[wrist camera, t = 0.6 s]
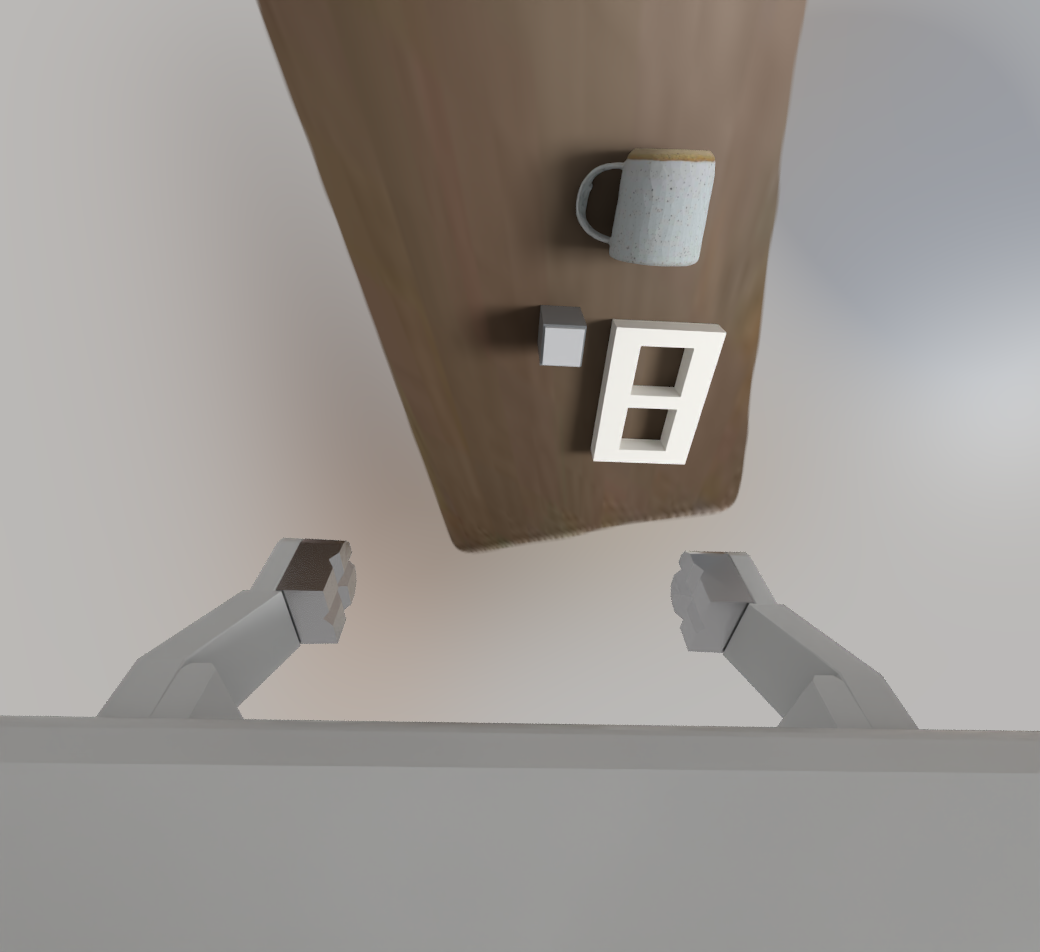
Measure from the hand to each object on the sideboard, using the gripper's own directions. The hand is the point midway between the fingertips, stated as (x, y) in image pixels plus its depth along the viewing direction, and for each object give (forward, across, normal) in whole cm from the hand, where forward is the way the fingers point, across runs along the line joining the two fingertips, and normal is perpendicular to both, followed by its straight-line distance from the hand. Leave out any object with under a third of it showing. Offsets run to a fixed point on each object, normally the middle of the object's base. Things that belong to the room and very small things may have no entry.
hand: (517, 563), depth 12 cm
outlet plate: (+41, -16, +14) cm, 46 cm away
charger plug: (+41, -5, +7) cm, 42 cm away
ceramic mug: (+41, -11, -4) cm, 42 cm away
